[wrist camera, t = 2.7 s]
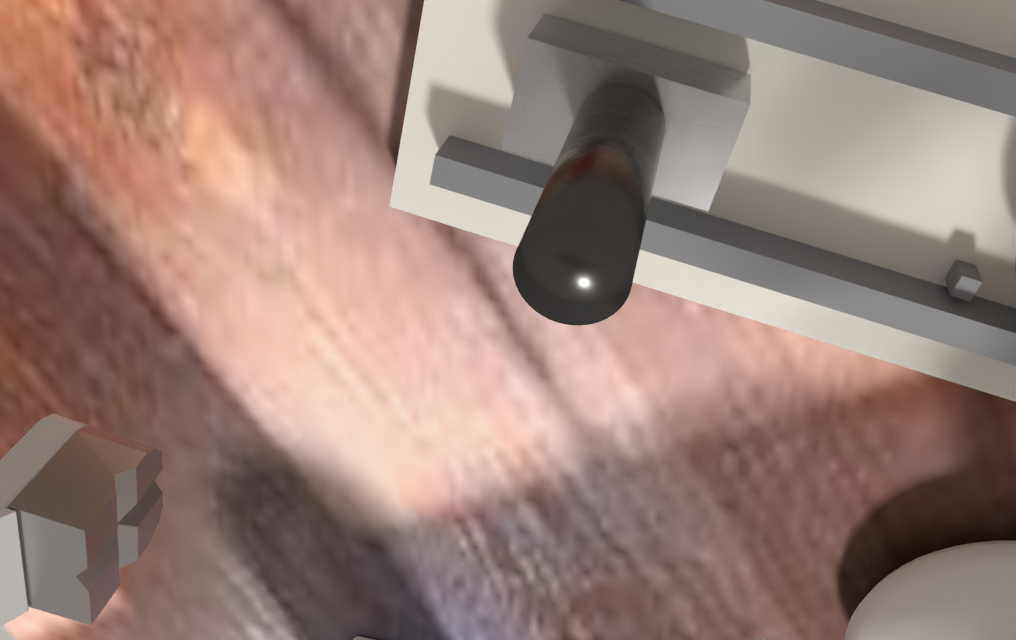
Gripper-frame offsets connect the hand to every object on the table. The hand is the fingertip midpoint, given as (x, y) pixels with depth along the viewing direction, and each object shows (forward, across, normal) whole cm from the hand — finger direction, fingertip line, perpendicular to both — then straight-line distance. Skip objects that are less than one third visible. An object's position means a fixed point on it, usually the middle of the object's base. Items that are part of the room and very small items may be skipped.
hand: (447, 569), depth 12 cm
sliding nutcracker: (+20, -7, 0) cm, 21 cm away
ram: (+18, -1, 0) cm, 18 cm away
